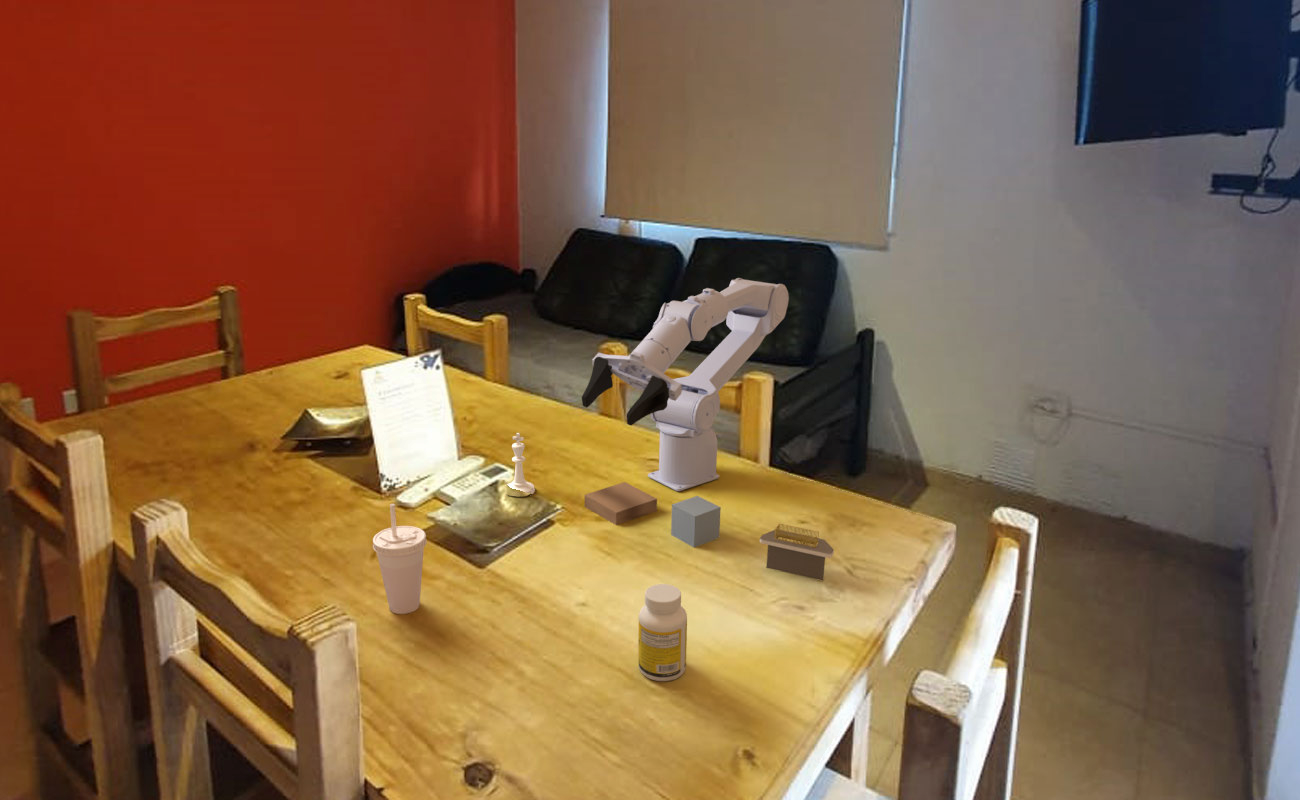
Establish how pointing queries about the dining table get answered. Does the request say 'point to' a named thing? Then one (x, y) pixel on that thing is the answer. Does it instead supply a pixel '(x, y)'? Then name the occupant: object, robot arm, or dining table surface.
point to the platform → (796, 552)
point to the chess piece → (520, 468)
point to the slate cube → (695, 521)
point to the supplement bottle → (662, 634)
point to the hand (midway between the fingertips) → (606, 411)
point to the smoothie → (401, 564)
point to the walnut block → (620, 503)
